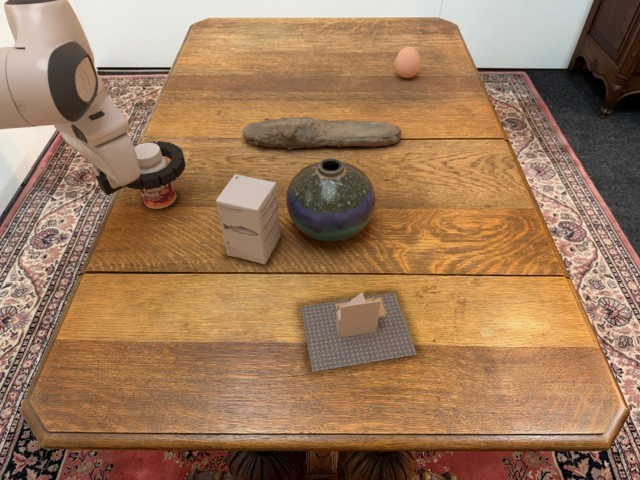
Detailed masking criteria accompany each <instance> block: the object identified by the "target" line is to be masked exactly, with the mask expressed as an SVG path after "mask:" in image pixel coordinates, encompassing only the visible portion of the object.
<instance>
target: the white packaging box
mask: <svg viewBox="0 0 640 480" xmlns="http://www.w3.org/2000/svg"><path fill="white" fill-rule="evenodd" d="M215 204H216V209H217V214H218V218H219V223H220V228H221V233H222V237H223V241H224V247H225V251H226V256H228V257H233V258H238V259H242V260H246V261H250V262H253V263H257V264H260V265H267V263H268V261H269V259H270V257H271V255H272V253H273V252H274V250H275V248H276V246H277V244H278V242H279V240H280V239H281V230H280V229H281V228H280V215H279V214H280V213H279V204H278V191H277V182H276V181H271V180H266V179H261V178H256V177H252V176H247V175H243V174H237V173H234V174H233V176H232V178H231V179H230V180H229V181H228V183H227V184H226V186H225V187H224V188H223V190H222V191H221V192H220V194H219V195H218V196H217V198H216V200H215Z"/></svg>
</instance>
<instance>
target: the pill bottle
mask: <svg viewBox="0 0 640 480" xmlns="http://www.w3.org/2000/svg"><path fill="white" fill-rule="evenodd" d="M141 143H142V144H141ZM141 143H140V144H139V143H138V145H137V144H136V145H137V146H135V145H134V146H135V147H134V149H135V152H136V155H137V159H138V162H139V166H140V171H141V174H147V173H153V172H157V171H159V170H161V169H163V168H165V167H167V165H168V164H169V163H168V161H167V160H166V158H164V156H162V153H161V150H160V147H159V146H158V145H157V144H155V143H146V142H141ZM139 192H140V194H141V198H142V201H143V203H144V205H145V206H146V207H148V208H150V209H154V210H159V209H165V208H167V207H170V206H171V205H172V204H173V203H174V202H175V201H176V198H177V192H176V188H175V185H174V181H173V182H171V183H169V184H167V185H165V186H163V185H162V184H161V187H160V188H154V189H149V190H145V188H144V189H143V190H139Z"/></svg>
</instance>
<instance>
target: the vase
mask: <svg viewBox="0 0 640 480" xmlns="http://www.w3.org/2000/svg"><path fill="white" fill-rule="evenodd" d="M285 204H286V209H287V213H288V215H289V218H290V220H291V222H292V223H293V224H294V226H295V227H296V229H298V230H299V231H300V232H301V233H302V234H304V235H305V236H306V237H308V238H310V239H313V240H316V241H319V242H324V243H338V242H342V241H346V240H349V239H351V238H353V237H355V236H357V235H358V234H359V233H360V232H362V231H363V230H364V229H365V228H366V226H367V225H368V224H369V222H370V221H371V219H372V217H373V214H374V212H375V208H376V192H375V188H374V185H373V183H372V182H371V180H370V178H369V177H368V176H367V175H366V173H364V172H363V171H362V170H361V169H360V168H358V167H357V166H355V165H353V164H350V163H349V162H345V161H341V160H340V159H337V158H335V157H334V158H333V157H332V158H328V157H327V158H325V159H322V160H321V161H317V162H313V163H311V164H308V165H307V166H305V167H303V168H302V169H301V170H298V172H297V173H296V174H295V175H294V176H293V178H292V179H291V180H290V183H289V185H288V187H287V190H286V197H285Z"/></svg>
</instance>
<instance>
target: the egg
mask: <svg viewBox="0 0 640 480" xmlns="http://www.w3.org/2000/svg"><path fill="white" fill-rule="evenodd" d="M395 57H396V58H395V61H394V69H395V72H396V73H397V74H398V76H400V77H401V78H403V79H410V78H413V77H415V75H417V74H418V73H419V70H420V68H421V63H422V58H421V56H420V53H419V51H418V50H417V49H416V48H415V47H413V46H405V47H404V48H401V50H400V51H399V52H398V54H397V55H396V56H395Z"/></svg>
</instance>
